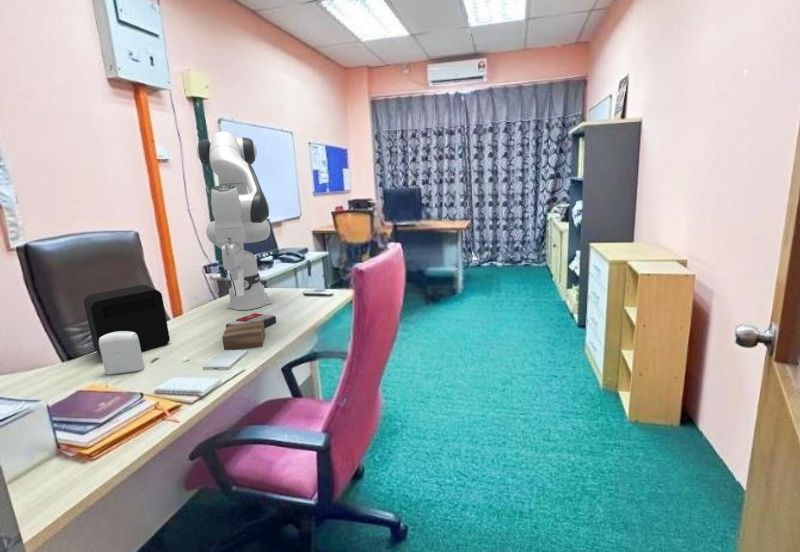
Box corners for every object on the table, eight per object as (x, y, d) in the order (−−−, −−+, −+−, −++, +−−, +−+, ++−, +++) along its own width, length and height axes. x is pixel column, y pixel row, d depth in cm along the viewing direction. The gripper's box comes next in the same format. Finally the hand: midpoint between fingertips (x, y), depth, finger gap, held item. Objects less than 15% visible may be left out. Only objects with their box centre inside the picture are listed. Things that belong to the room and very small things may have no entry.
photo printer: (103, 376, 126) (94, 336, 124) (110, 370, 130) (101, 331, 128) (141, 372, 128) (133, 332, 125) (146, 366, 132) (139, 327, 129)
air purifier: (158, 335, 160) (149, 282, 156) (171, 344, 150) (161, 288, 145) (93, 351, 146) (81, 295, 142) (103, 363, 136) (89, 302, 132)
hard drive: (224, 349, 139) (202, 366, 127) (248, 349, 138) (228, 366, 126) (224, 354, 139) (203, 371, 127) (248, 354, 138) (229, 371, 126)
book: (276, 314, 166) (248, 324, 153) (277, 325, 167) (249, 336, 154) (253, 312, 171) (224, 322, 157) (254, 322, 172) (226, 333, 158)
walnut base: (229, 338, 152) (227, 325, 151) (265, 334, 154) (263, 321, 153) (224, 351, 140) (221, 336, 139) (262, 346, 143) (260, 332, 142)
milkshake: (244, 292, 147) (241, 263, 145) (247, 295, 143) (243, 265, 140) (230, 294, 145) (226, 265, 143) (233, 297, 141) (228, 267, 138)
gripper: (236, 239, 130) (242, 284, 133) (244, 232, 150) (249, 271, 153) (214, 241, 129) (221, 286, 132) (225, 233, 148) (231, 272, 151)
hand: (236, 278), depth 142 cm, fingers closed on milkshake, 4 cm apart
